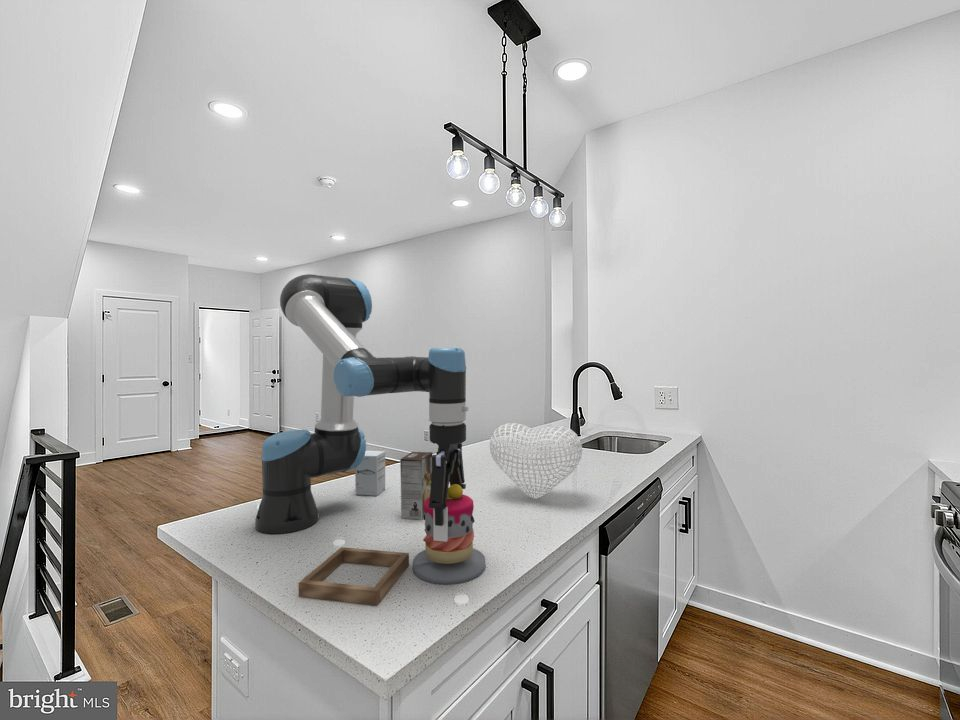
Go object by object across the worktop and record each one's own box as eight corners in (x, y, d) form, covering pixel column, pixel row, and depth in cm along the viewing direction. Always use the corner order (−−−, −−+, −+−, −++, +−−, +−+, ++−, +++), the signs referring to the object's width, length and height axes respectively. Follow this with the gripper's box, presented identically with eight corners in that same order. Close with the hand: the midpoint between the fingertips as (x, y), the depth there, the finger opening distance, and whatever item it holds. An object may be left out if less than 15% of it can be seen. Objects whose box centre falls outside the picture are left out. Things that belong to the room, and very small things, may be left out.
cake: (475, 542, 100) (475, 473, 100) (473, 564, 90) (472, 488, 89) (427, 541, 101) (427, 473, 100) (419, 564, 90) (418, 488, 90)
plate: (401, 580, 89) (401, 574, 89) (426, 547, 104) (426, 542, 104) (476, 587, 86) (476, 581, 86) (491, 553, 101) (491, 547, 101)
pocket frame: (298, 596, 84) (298, 582, 84) (341, 558, 99) (341, 547, 99) (377, 605, 80) (377, 591, 80) (409, 565, 96) (408, 553, 95)
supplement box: (354, 495, 142) (354, 454, 142) (364, 488, 149) (364, 449, 149) (377, 496, 141) (376, 455, 140) (386, 489, 148) (385, 450, 148)
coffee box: (412, 507, 131) (411, 451, 131) (433, 508, 130) (433, 451, 130) (400, 518, 122) (399, 458, 122) (423, 520, 121) (422, 459, 121)
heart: (481, 500, 137) (481, 425, 136) (501, 485, 151) (500, 418, 150) (575, 513, 125) (575, 431, 125) (587, 496, 139) (586, 423, 139)
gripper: (450, 433, 82) (451, 555, 83) (477, 415, 105) (478, 511, 105) (410, 431, 84) (411, 551, 85) (445, 414, 106) (446, 509, 107)
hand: (448, 529), depth 95 cm, fingers closed on cake, 10 cm apart
